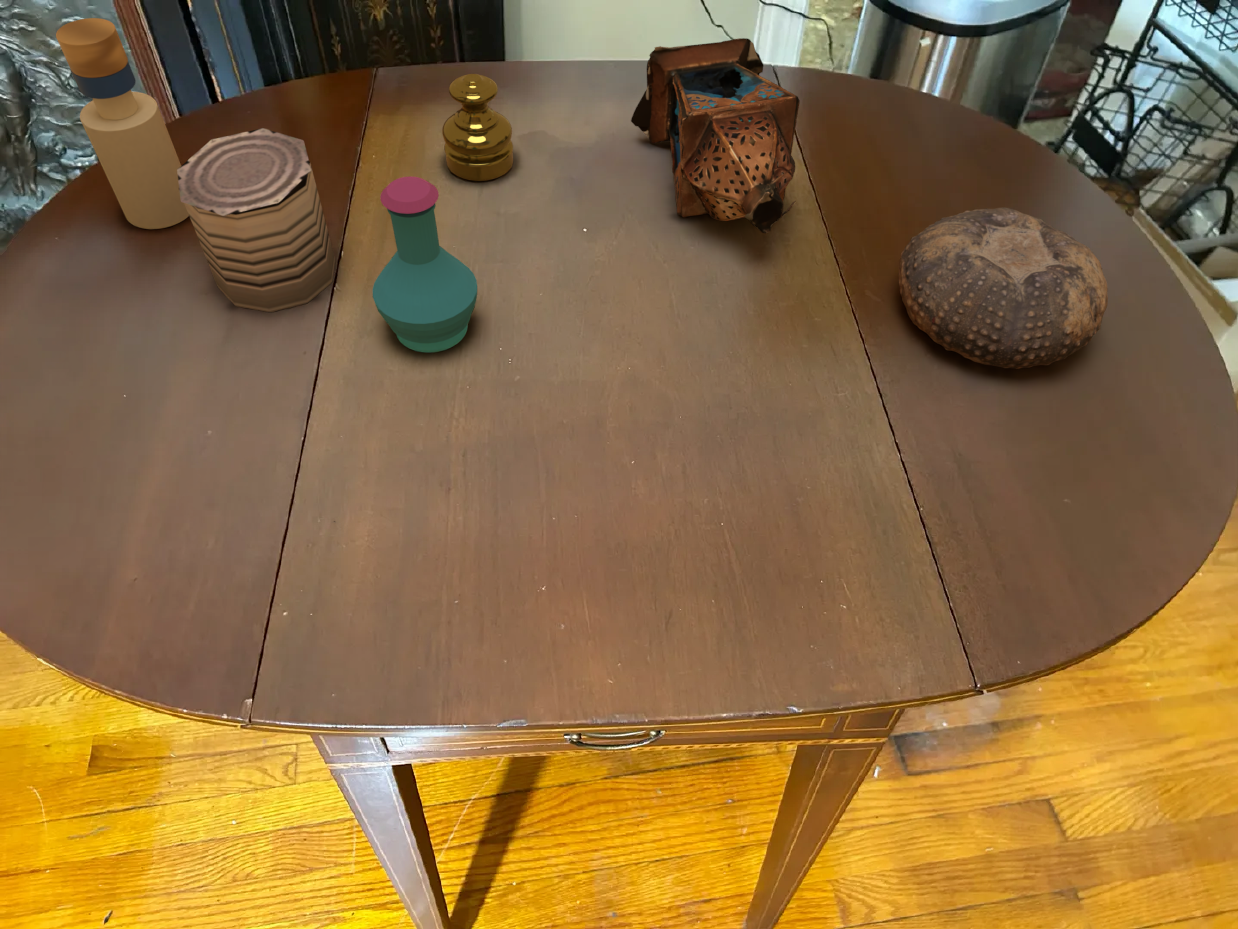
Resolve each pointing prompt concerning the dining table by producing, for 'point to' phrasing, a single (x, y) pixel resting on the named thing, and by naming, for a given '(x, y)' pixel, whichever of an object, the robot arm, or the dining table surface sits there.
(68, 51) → the tan short cylinder
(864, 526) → the dining table surface
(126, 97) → the cream bottle
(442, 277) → the perfume bottle
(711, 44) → the lantern
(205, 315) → the dining table surface
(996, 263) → the sea urchin shell
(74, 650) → the dining table surface
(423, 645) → the dining table surface
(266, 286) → the can
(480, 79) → the brass weight
